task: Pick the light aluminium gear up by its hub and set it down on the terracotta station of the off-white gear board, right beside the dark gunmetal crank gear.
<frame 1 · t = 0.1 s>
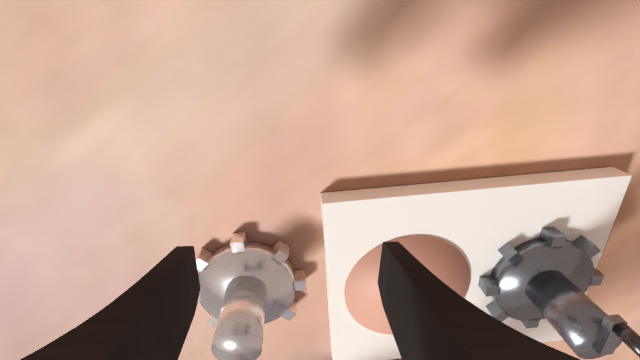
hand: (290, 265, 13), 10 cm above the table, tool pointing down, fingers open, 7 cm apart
gear board: (456, 268, 27), on the table
aluminium gear: (248, 280, 26), on the table
crank gear: (534, 274, 26), resting on gear board
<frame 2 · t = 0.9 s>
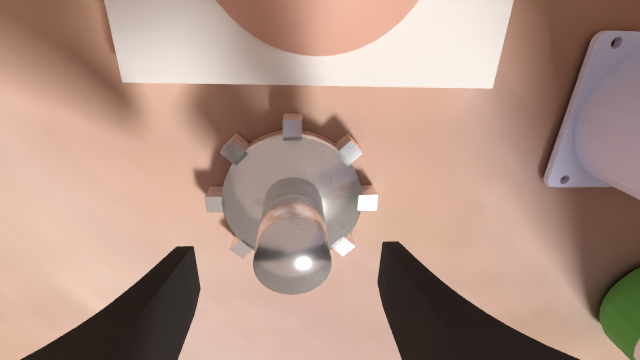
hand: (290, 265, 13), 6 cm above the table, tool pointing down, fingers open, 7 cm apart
aluminium gear: (293, 192, 18), on the table
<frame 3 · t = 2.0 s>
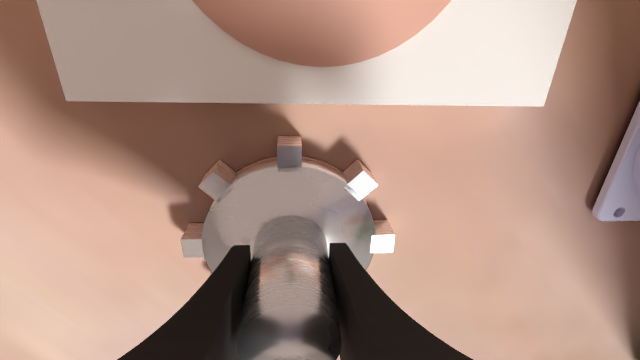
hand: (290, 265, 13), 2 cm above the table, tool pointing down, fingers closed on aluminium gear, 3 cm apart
aluminium gear: (290, 230, 15), on the table, touching gripper
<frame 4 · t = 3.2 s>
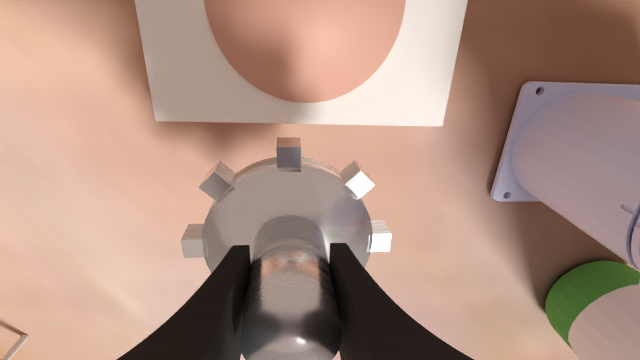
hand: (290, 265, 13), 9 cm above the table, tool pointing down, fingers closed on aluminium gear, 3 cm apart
aluminium gear: (289, 230, 15), point 7 cm above the table, touching gripper
lollipop: (27, 334, 26), on the table
wine bottle: (581, 289, 28), on the table
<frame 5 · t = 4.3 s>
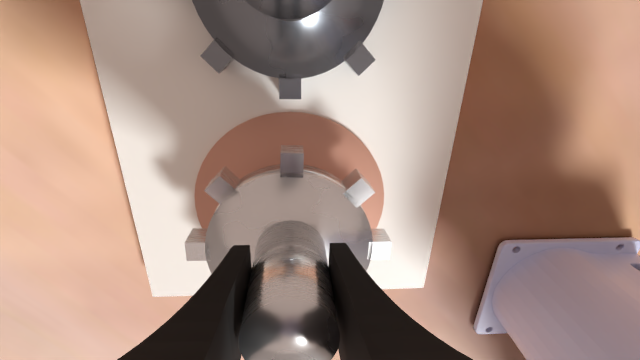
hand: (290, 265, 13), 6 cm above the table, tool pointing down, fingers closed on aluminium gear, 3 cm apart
gear board: (290, 110, 17), on the table
aluminium gear: (290, 236, 15), point 4 cm above the table, touching gripper
when the fingers open (6 cm above the table, at t = 4.7 s): aluminium gear drops 1 cm, resting on gear board.
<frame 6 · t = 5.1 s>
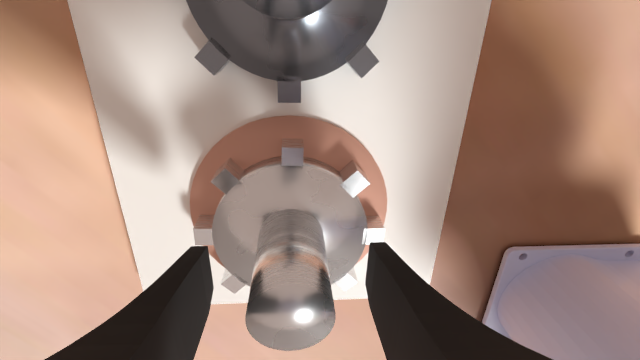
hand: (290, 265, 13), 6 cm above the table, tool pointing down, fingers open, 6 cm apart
gear board: (290, 113, 16), on the table
aluminium gear: (291, 222, 17), point 2 cm above the table, touching gear board
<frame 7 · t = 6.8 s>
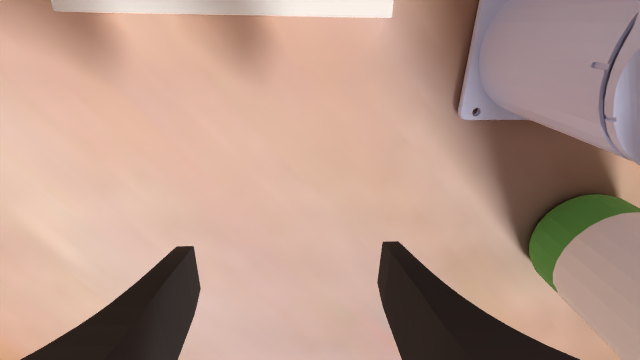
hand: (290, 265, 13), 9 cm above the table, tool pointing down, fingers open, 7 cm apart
wine bottle: (569, 231, 25), on the table
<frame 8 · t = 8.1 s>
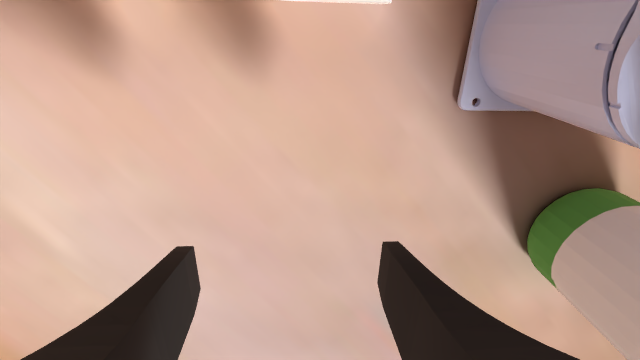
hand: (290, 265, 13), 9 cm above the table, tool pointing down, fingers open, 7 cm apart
wine bottle: (568, 226, 25), on the table
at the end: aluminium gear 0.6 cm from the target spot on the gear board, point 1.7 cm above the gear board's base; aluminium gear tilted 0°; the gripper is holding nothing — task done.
